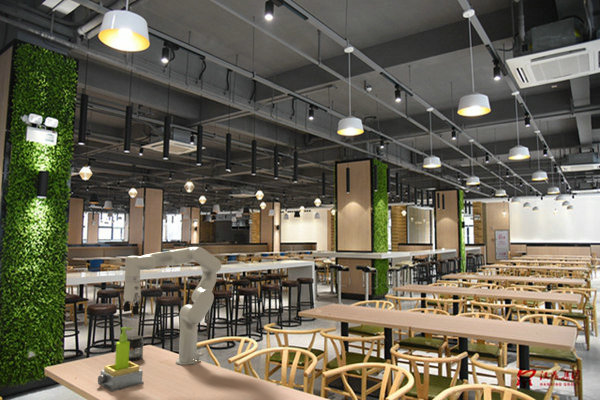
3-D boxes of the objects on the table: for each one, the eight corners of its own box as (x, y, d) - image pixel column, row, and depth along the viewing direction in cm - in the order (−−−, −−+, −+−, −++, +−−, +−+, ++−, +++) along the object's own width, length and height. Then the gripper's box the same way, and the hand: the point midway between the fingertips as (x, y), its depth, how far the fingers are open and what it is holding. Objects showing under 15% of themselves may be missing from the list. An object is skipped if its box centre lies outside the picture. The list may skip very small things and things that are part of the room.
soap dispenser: (125, 373, 193) (127, 329, 195) (112, 371, 194) (114, 328, 196) (132, 369, 198) (135, 326, 200) (119, 368, 200) (122, 325, 202)
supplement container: (129, 355, 242) (130, 335, 243) (146, 356, 241) (147, 335, 242) (119, 361, 232) (120, 339, 233) (137, 361, 231) (138, 339, 232)
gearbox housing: (129, 376, 206) (130, 359, 207) (143, 383, 196) (144, 366, 197) (94, 384, 194) (95, 366, 195) (107, 392, 184) (108, 374, 185)
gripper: (147, 280, 215) (145, 313, 213) (131, 277, 226) (130, 309, 225) (133, 281, 209) (131, 315, 208) (117, 278, 221) (116, 311, 219)
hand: (131, 312), depth 216 cm, fingers open, 9 cm apart
